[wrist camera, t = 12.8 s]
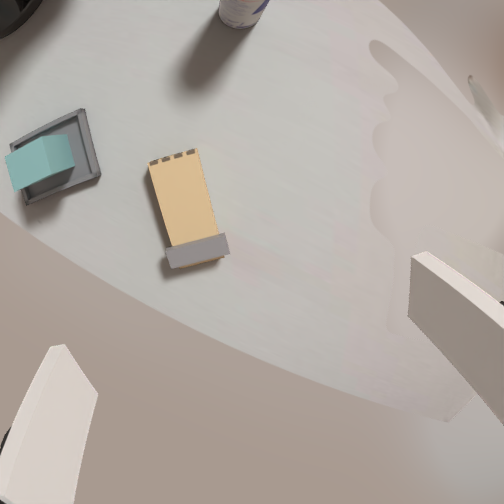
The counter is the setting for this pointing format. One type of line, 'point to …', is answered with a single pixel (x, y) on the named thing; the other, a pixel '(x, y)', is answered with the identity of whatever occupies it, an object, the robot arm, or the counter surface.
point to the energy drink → (241, 12)
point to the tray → (81, 152)
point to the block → (39, 160)
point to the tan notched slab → (187, 210)
